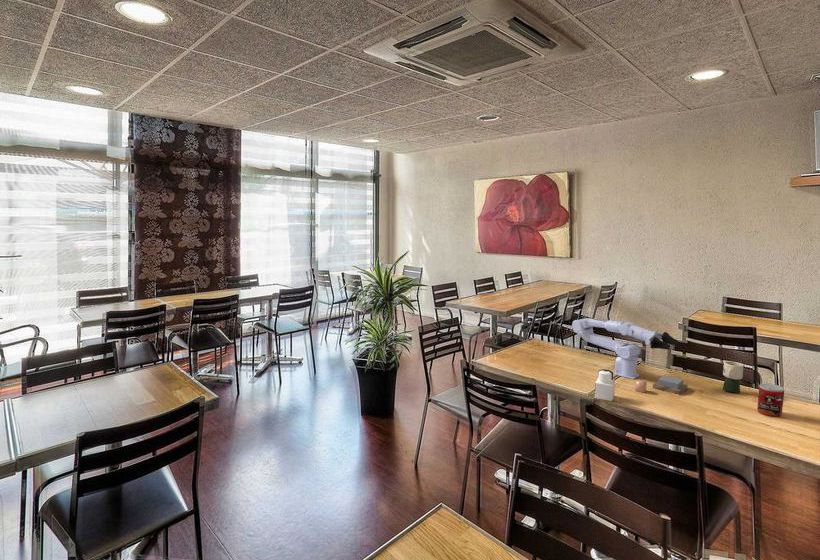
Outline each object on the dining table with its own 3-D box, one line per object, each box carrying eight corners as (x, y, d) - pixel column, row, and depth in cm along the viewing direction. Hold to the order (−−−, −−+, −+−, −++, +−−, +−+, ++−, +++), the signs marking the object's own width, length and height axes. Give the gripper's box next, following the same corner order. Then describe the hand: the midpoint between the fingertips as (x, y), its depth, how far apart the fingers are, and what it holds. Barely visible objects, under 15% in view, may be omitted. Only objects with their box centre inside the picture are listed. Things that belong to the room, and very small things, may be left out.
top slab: (658, 384, 202) (658, 379, 202) (664, 380, 207) (664, 375, 207) (677, 389, 196) (677, 384, 196) (683, 384, 201) (683, 379, 201)
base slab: (652, 389, 202) (652, 384, 202) (661, 383, 210) (661, 378, 209) (679, 396, 194) (679, 391, 194) (687, 390, 202) (687, 384, 201)
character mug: (725, 386, 204) (728, 359, 203) (744, 390, 199) (747, 362, 197) (717, 392, 197) (720, 364, 196) (736, 396, 192) (739, 368, 190)
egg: (633, 390, 199) (634, 381, 199) (637, 388, 202) (637, 379, 202) (643, 393, 196) (644, 383, 196) (647, 391, 199) (648, 381, 198)
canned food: (755, 413, 175) (757, 386, 173) (758, 407, 180) (761, 381, 179) (780, 419, 169) (783, 392, 168) (782, 413, 175) (785, 386, 174)
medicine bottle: (596, 392, 197) (598, 367, 196) (614, 395, 194) (615, 369, 192) (594, 398, 191) (595, 371, 190) (612, 401, 188) (613, 374, 186)
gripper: (637, 330, 206) (667, 341, 195) (654, 324, 214) (683, 333, 203) (635, 344, 208) (664, 355, 197) (651, 337, 216) (680, 347, 205)
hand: (673, 345), depth 200 cm, fingers open, 7 cm apart
